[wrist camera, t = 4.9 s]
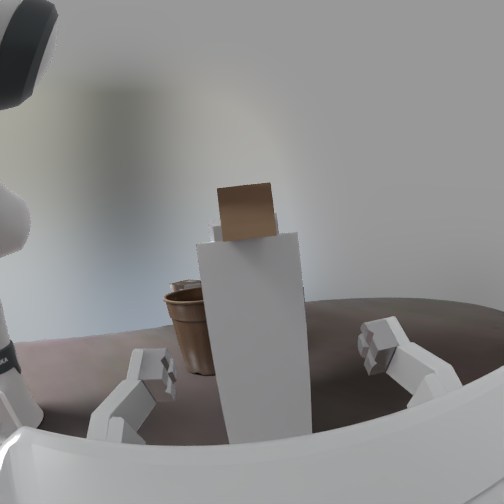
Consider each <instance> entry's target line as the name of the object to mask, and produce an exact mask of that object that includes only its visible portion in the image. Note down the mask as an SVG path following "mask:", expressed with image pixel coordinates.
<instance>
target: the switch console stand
mask: <svg viewBox="0 0 504 504" xmlns="http://www.w3.org/2000/svg"><path fill="white" fill-rule="evenodd" d="M274 216H275V224H276V233H277V236H269V237H261V238H252V239H243V240H235V241H227V242H223V237H222V229H221V220H214V221H208V225H209V233H210V242H206V243H200V244H196V246H197V254H198V263H199V271H200V278H201V285H202V293H203V300H204V306H205V313H206V319H207V326H208V332H209V338H210V344H211V350H212V356H213V362H214V368H215V373H216V379H217V384H218V389H219V395H220V400H221V405H222V410H223V415H224V420H225V425H226V430H227V434H228V439H229V443H230V444H241V443H252V442H261V441H269V440H277V439H284V438H291V437H297V436H303V435H308V434H312V415H311V389H310V371H309V358H308V343H307V329H306V323H307V322H306V310H305V298H304V287H303V283H302V272H301V263H300V253H299V243H298V234H297V232H295V233H281V234H279V231H278V223H277V215H276V213H274Z"/></svg>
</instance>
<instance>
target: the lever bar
mask: <svg viewBox="0 0 504 504" xmlns="http://www.w3.org/2000/svg"><path fill="white" fill-rule="evenodd" d="M217 193H218V202H219V211H220V220H221V229H222V237H223V242H227V241H235V240H243V239H252V238H261V237H269V236H277V233H276V224H275V216H274V208H273V199H272V192H271V184H270V183H262V184H253V185H243V186H234V187H226V188H218V189H217Z"/></svg>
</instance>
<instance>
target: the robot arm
mask: <svg viewBox="0 0 504 504" xmlns="http://www.w3.org/2000/svg"><path fill="white" fill-rule="evenodd" d="M57 17H58V14H57V11H56V9H55V6H54V4H52V3H50V2H49V1H46V0H0V110H4V109H8V108H12V107H15V106H18V105H20V104H21V103H22V102H24V101H25V100H26V99H27V98H29V97H30V96H31V95H32V93H33V90H34V88H35V87H36V86H37V85H38V84H39V82H40V81H41V79H42V78H43V76H44V74H45V73H46V71H47V69H48V67H49V65H50V63H51V60H52V57H53V55H54V52H55V48H56V43H57ZM29 231H30V214H29V211H28V207H27V205H26V203H25V201H24V200H23V199H22V197H21V196H20V195H19V194H17V193H15V192H13V191H11V190H10V189H8V188H7V187H6V186H5V185H4V184H3V183H2V182H1V181H0V257H3V256H6V255H9V254H11V253H14V252H16V251H19V250H21V249H22V248H23V246H24V244H25V243H26V241H27V238H28V235H29ZM361 331H362V333H361V334H360V335H359V337H358V349H359V353H360V355H361V357H363V358H364V359H366V360H365V363H364V365H365V368H366V370H367V373H368V375H369V376H370V375H375V374H379V373H383V372H386V373H387V374H388V375H389V376H390V377H392V378H393V379H394V380H395V381H396V382H398V383H399V384H400V385H401V386H403V387H404V388H405V389H406V390H407V391H409V392H410V393H411V394H412V395H413V397H412V398H411V400H410V401H409V403H408V404H407V409H405V410H402V411H399V412H396V413H392V414H389V415H386V416H383V417H379V418H376V419H373V420H369V421H365V422H362V423H358V424H354V425H350V426H346V427H342V428H337V429H333V430H328V431H324V432H319V433H314V434H308V435H303V436H297V437H291V438H284V439H277V440H269V441H261V442H252V443H241V444H227V445H207V446H160V445H146V442H145V441H144V440H143V439H142V438H141V437H140V436H139V435H138V434H137V433H136V432H137V431H138V429H139V428H140V427H141V425H142V424H143V422H144V421H145V419H146V418H147V416H148V415H149V414H150V412H151V411H152V409H153V408H154V406H155V405H156V402H175V393H176V388H175V386H174V382H175V381H176V380H177V370H176V365H175V362H174V360H173V359H172V358H170V356H171V353H170V351H169V349H168V348H158V349H134V350H133V352H132V355H131V360H130V365H129V369H128V374H127V379H126V380H123V381H122V382H121V383H120V384H119V385H118V386H117V387H116V388H115V389H114V390H113V392H112V393H111V394H110V395H109V396H108V397H107V398H106V399H105V400H104V401H103V402H102V403H101V404H100V405H99V406H98V407H97V409H96V410H95V411H94V412H93V413H92V414H91V419H90V423H89V428H88V433H87V438H80V437H74V436H68V435H63V434H58V433H53V432H49V431H44V430H40V429H36V428H37V427H38V426H39V424H40V423H41V421H42V419H43V411H42V409H41V408H40V407H39V405H38V404H37V403H36V401H35V400H34V398H33V396H32V395H31V393H30V391H29V389H28V387H27V385H26V383H25V381H24V379H23V377H22V374H21V366H20V363H19V359H18V356H17V353H16V350H15V347H14V345H13V342H12V341H11V340H10V339H9V334H8V330H7V326H6V322H5V317H4V313H3V308H2V303H1V300H0V504H504V366H502V367H500V368H499V369H497V370H495V371H493V372H491V373H489V374H487V375H485V376H483V377H481V378H479V379H477V380H475V381H473V382H471V383H469V384H467V385H465V386H462V384H461V382H460V380H459V378H458V376H457V375H456V373H455V371H454V369H453V367H452V366H451V365H450V364H448V363H447V362H445V361H443V360H442V359H440V358H438V357H437V356H435V355H433V354H432V353H430V352H428V351H427V350H425V349H423V348H422V347H420V346H418V345H417V344H415V343H413V342H412V343H410V341H409V340H408V338H407V336H406V334H405V333H404V331H403V329H402V327H401V326H400V324H399V322H398V320H397V319H396V318H395V317H389V318H385V319H379V320H375V321H370V322H366V323H363V324H362V326H361Z"/></svg>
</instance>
